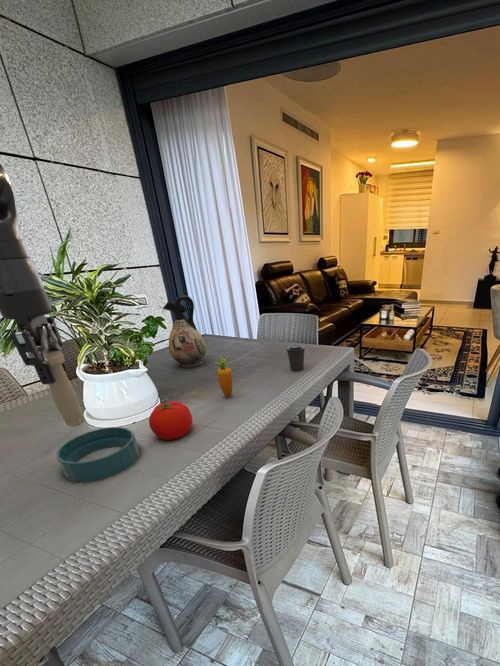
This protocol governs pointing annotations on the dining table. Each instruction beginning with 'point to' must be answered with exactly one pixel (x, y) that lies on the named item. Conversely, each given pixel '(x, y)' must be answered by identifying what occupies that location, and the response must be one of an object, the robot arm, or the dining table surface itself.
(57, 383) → the handle
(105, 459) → the teal ring
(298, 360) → the coffee cup
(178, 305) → the ceramic jug
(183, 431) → the tomato
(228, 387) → the carrot
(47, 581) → the dining table surface
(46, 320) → the robot arm
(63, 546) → the dining table surface
